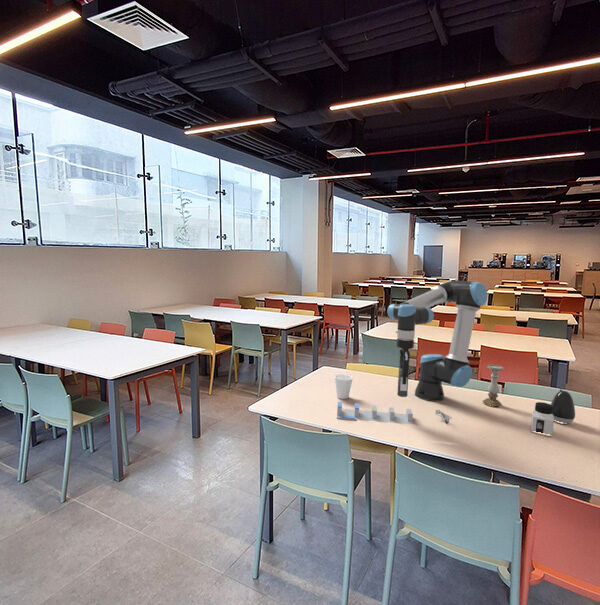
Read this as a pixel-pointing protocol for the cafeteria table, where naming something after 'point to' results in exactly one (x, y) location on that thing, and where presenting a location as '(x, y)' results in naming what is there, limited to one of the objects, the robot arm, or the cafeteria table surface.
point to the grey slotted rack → (374, 415)
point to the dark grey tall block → (400, 393)
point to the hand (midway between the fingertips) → (402, 388)
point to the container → (542, 418)
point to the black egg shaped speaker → (563, 407)
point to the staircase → (443, 416)
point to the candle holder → (493, 386)
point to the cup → (343, 385)
